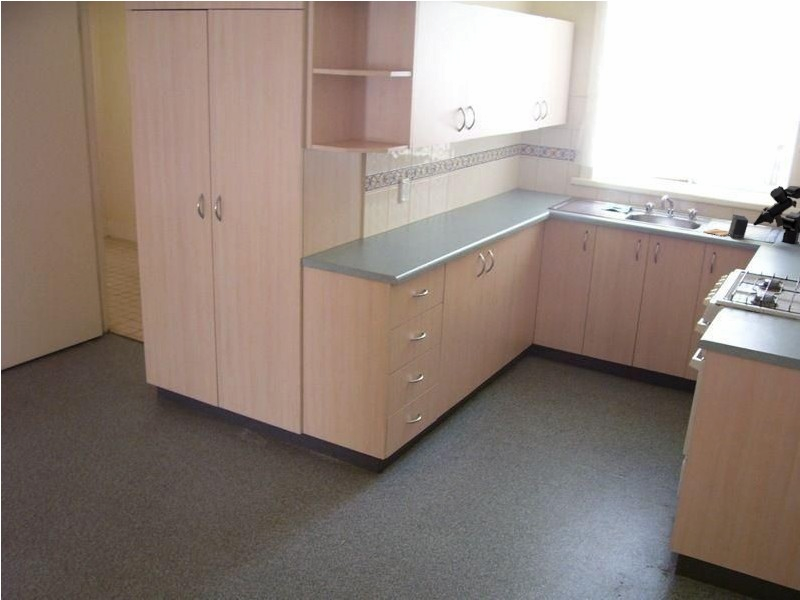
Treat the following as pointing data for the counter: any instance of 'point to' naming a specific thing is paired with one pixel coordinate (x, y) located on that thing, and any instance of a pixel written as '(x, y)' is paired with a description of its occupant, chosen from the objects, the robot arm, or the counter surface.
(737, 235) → the small box
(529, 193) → the counter surface
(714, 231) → the cork mat
